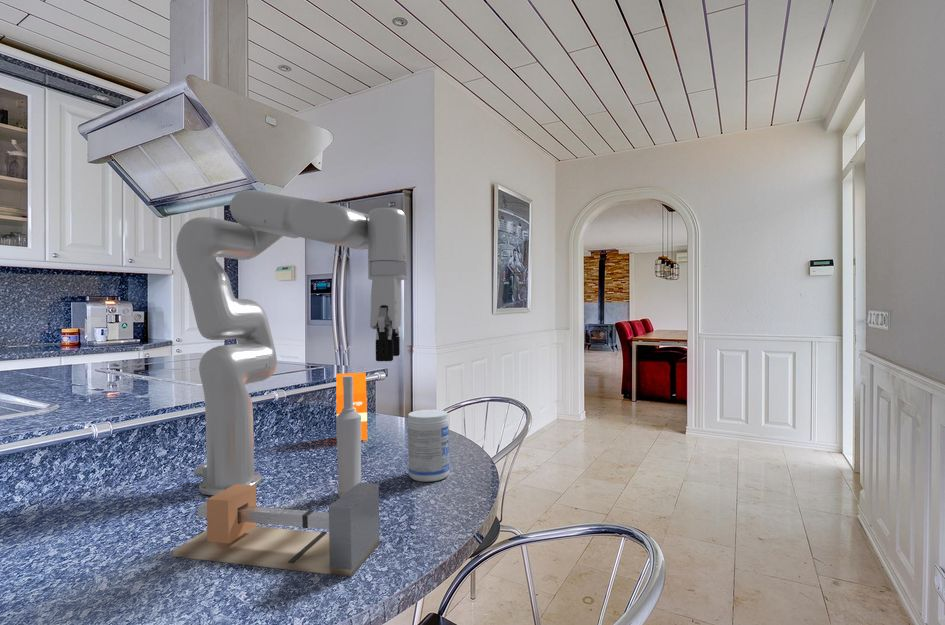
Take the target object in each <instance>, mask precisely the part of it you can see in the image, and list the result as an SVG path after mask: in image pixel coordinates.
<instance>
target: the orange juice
mask: <svg viewBox="0 0 945 625" xmlns="http://www.w3.org/2000/svg"><path fill="white" fill-rule="evenodd" d="M366 374H367V373H366V372H349V373H347V372H346V373H336V375H335V376H336V383H335V384H336V390H335V392H336V394H335V395H336V402H335V404H336V417H337V416H338V415H339V414H340V413H341V412H342V409H343V408H344V399H343V376H353V407H354V408H355V411H356V412H357V413H359V414H360V415H361V440H367V441H368V409H367V408H368V407H367V406H368V401H367V400H368V398H367V376H366Z"/></svg>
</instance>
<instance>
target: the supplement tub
mask: <svg viewBox="0 0 945 625" xmlns="http://www.w3.org/2000/svg"><path fill="white" fill-rule="evenodd" d="M449 428H450V427H449V418H448V412H447V411H445V410H443V409H420V410H414V411H411V412H408V414H407V450H408V451H407V452H408V454H407V455H408V457H407V458H408V461H407V462H408V475H409V477H410V478H411V479H413V480H414V481H417V482H422V483H423V482H426V483H427V482H429V483H430V482H437V481H440V480H443V479H445V478H447V477H448V476H449V474H450V443H449V442H450V441H449V440H450V439H449V438H450V436H449V431H450V430H449Z"/></svg>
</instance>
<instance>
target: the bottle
mask: <svg viewBox="0 0 945 625" xmlns="http://www.w3.org/2000/svg"><path fill="white" fill-rule="evenodd" d="M343 399H344V408H343V409H342V412H341V413H340V414H339V415H338V416H337V415H336V417H335V423H336V424H335V425H336V426H335V428H336V452H337V454H336V456H337V477H338V478H337V481H338V484H337V485H338V486H337V487H336V490H337V495H338V498H340V497H342V496H343V495H344V494H345V493H347V492H348V491H349V490H350V489H352V488H353V487H354V486H355V485H357V484H358V483H362V442H361V415H360V414H359V413H357V412H356V411H355V408H354V407H353V376H343Z"/></svg>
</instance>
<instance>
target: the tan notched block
mask: <svg viewBox="0 0 945 625" xmlns="http://www.w3.org/2000/svg"><path fill="white" fill-rule="evenodd" d="M206 502H207V518H206V528H207V529H206V530H207V541H209V542H219V543H228V544H229V543H230V542H232V541H233V540H235V539H236V538H238V537H239V536H241V535H242V534H244V533H245V532H247V531H248V530H250V529H251V528H253V527H254V526H257V525H258V523H254V522H243V521H238V511H237V509H238V508H240V507H241V506H255V507H258V506H257V486H255V485H242V484H235V485H233V486H231V487H229V488H227V489H225V490H224V491H222V492H220V493H218V494H216V495H214V496H213V495H211V496H210V497H208V498H206Z"/></svg>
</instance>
